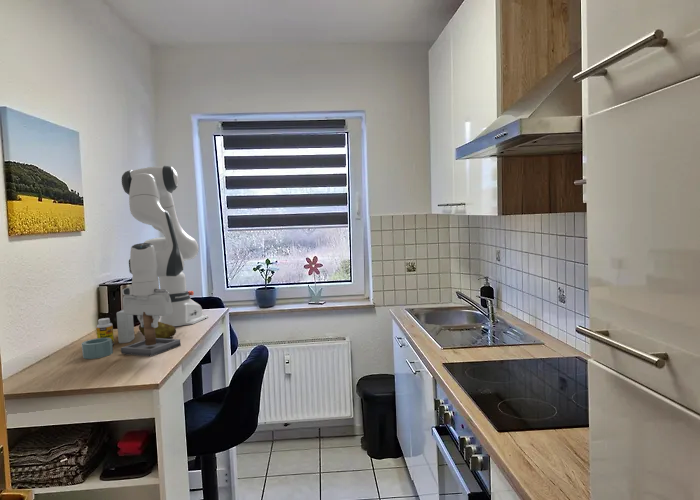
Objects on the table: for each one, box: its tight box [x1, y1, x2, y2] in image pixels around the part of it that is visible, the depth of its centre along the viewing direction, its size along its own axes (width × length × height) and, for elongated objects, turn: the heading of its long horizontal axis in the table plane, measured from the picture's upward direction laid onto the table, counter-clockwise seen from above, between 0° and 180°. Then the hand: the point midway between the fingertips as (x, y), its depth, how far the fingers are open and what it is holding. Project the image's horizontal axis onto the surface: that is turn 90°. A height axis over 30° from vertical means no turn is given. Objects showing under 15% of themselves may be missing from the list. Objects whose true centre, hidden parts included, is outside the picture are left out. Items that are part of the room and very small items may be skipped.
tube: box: [81, 338, 114, 360], centre depth 174 cm, size 9×9×5 cm
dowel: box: [143, 312, 156, 345], centre depth 176 cm, size 4×4×12 cm
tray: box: [120, 338, 182, 357], centre depth 177 cm, size 14×14×2 cm
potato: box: [138, 320, 177, 339], centre depth 193 cm, size 8×13×8 cm, turn 95°
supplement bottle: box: [95, 317, 115, 346], centre depth 187 cm, size 6×6×10 cm
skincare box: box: [116, 309, 135, 344], centre depth 192 cm, size 6×4×12 cm
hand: (149, 327), depth 176 cm, fingers closed on dowel, 4 cm apart
